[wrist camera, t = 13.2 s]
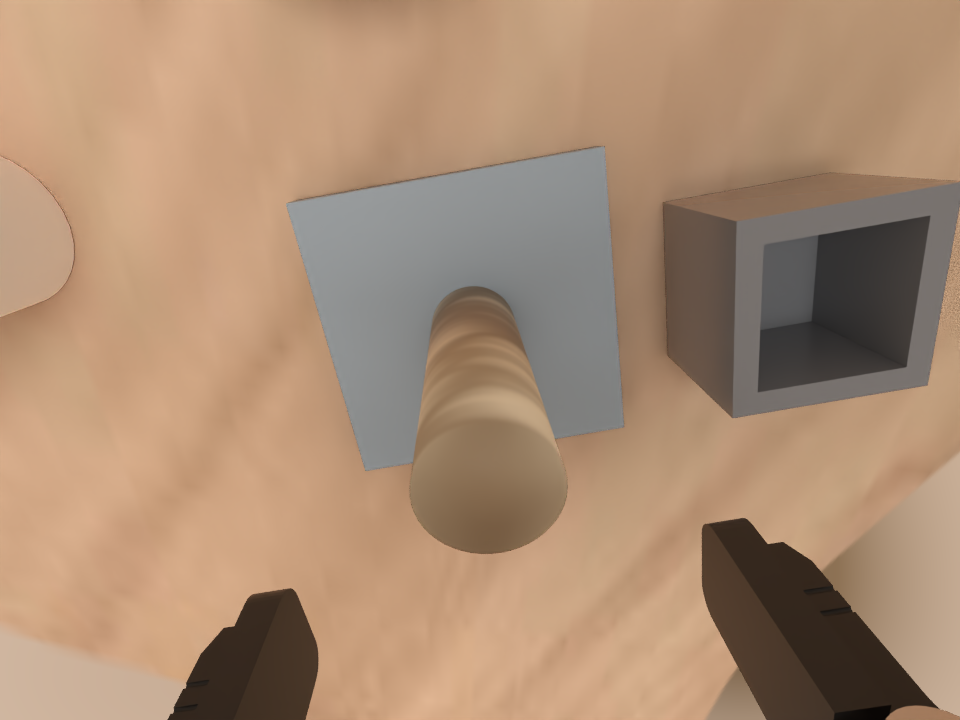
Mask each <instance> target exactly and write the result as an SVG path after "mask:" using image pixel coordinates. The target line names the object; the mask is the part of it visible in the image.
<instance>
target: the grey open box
mask: <svg viewBox="0 0 960 720" xmlns="http://www.w3.org/2000/svg"><path fill="white" fill-rule="evenodd" d="M959 206H960V181H951V180H935V179H920V178H905V177H889V176H874V175H859V174H843V173H826V174H820V175H814V176H809V177H803V178H797V179H792V180H786V181H781V182H775V183H769V184H764V185H758V186H752V187H747V188H741V189H735V190H730V191H724V192H719V193H713V194H707V195H702V196H696V197H690V198H685V199H679V200H673V201H668V202H663V218H664V250H665V282H666V314H667V346H668V356H669V357H670V358H671V359H672V360H673V361H674V362H675V363H676V364H677V365H678V366H679V367H680V368H681V369H682V370H683V371H684V372H685V373H686V374H687V375H688V376H689V377H690V378H691V379H692V380H694V381H695V382H696V383H697V384H698V385H699V386H700V387H701V388H702V389H703V390H704V391H705V392H706V393H707V394H708V395H709V396H710V397H711V398H712V399H713V400H714V401H715V402H716V403H717V404H718V405H719V406H720V407H721V408H722V409H724V410H725V411H726V412H727V413H728V414H729V415H730V416H731V417H732V418H737V417H743V416H749V415H755V414H761V413H767V412H773V411H779V410H785V409H790V408H796V407H802V406H808V405H814V404H820V403H826V402H832V401H838V400H844V399H850V398H855V397H861V396H867V395H873V394H879V393H885V392H891V391H897V390H903V389H909V388H915V387H921V386H926V385H928V380H929V374H930V369H931V363H932V357H933V352H934V346H935V341H936V335H937V329H938V324H939V318H940V313H941V307H942V301H943V296H944V290H945V285H946V279H947V273H948V268H949V262H950V257H951V251H952V245H953V240H954V234H955V229H956V223H957V218H958V212H959Z"/></svg>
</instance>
